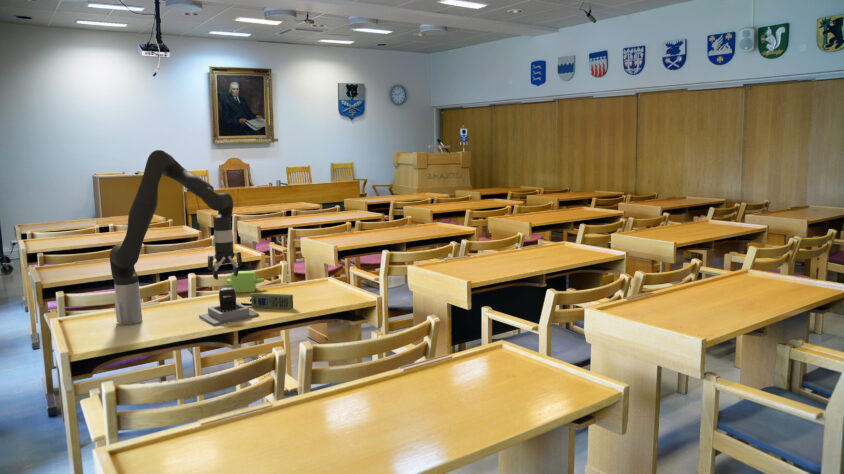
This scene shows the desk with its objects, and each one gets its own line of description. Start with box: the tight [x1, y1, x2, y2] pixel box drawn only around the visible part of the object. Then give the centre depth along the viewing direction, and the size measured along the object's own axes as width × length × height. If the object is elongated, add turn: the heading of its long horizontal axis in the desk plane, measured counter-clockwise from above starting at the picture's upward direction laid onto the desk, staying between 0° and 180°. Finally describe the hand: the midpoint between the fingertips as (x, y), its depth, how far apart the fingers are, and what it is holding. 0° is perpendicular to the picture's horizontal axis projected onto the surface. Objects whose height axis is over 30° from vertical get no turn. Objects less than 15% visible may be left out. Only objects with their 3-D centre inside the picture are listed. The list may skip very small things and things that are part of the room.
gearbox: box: [226, 270, 265, 293], centre depth 314 cm, size 18×10×10 cm, turn 97°
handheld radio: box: [240, 292, 294, 310], centre depth 283 cm, size 7×3×25 cm
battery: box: [218, 287, 237, 313], centre depth 270 cm, size 7×4×11 cm, turn 105°
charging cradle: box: [198, 301, 260, 327], centre depth 270 cm, size 20×16×4 cm
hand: (226, 277), depth 267 cm, fingers open, 8 cm apart
